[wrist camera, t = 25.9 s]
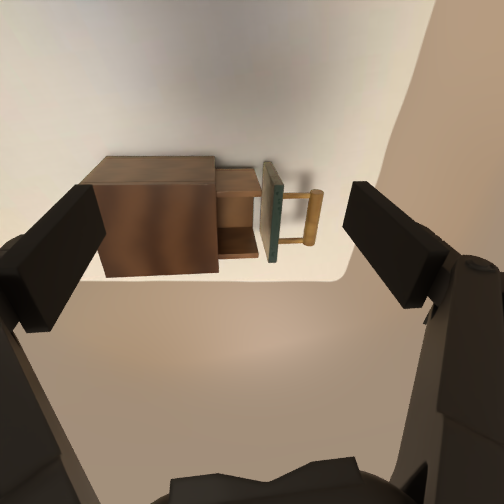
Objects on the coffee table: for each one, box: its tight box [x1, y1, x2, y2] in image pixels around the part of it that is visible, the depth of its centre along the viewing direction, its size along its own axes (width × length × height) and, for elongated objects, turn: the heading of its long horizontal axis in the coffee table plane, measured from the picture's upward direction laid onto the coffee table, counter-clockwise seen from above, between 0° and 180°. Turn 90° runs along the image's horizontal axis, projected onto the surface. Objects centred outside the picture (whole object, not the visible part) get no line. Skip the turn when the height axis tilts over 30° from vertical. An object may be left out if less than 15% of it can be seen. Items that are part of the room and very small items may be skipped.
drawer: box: [215, 162, 324, 263], centre depth 42 cm, size 20×12×9 cm, turn 88°
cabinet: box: [79, 156, 219, 278], centre depth 40 cm, size 15×13×11 cm
